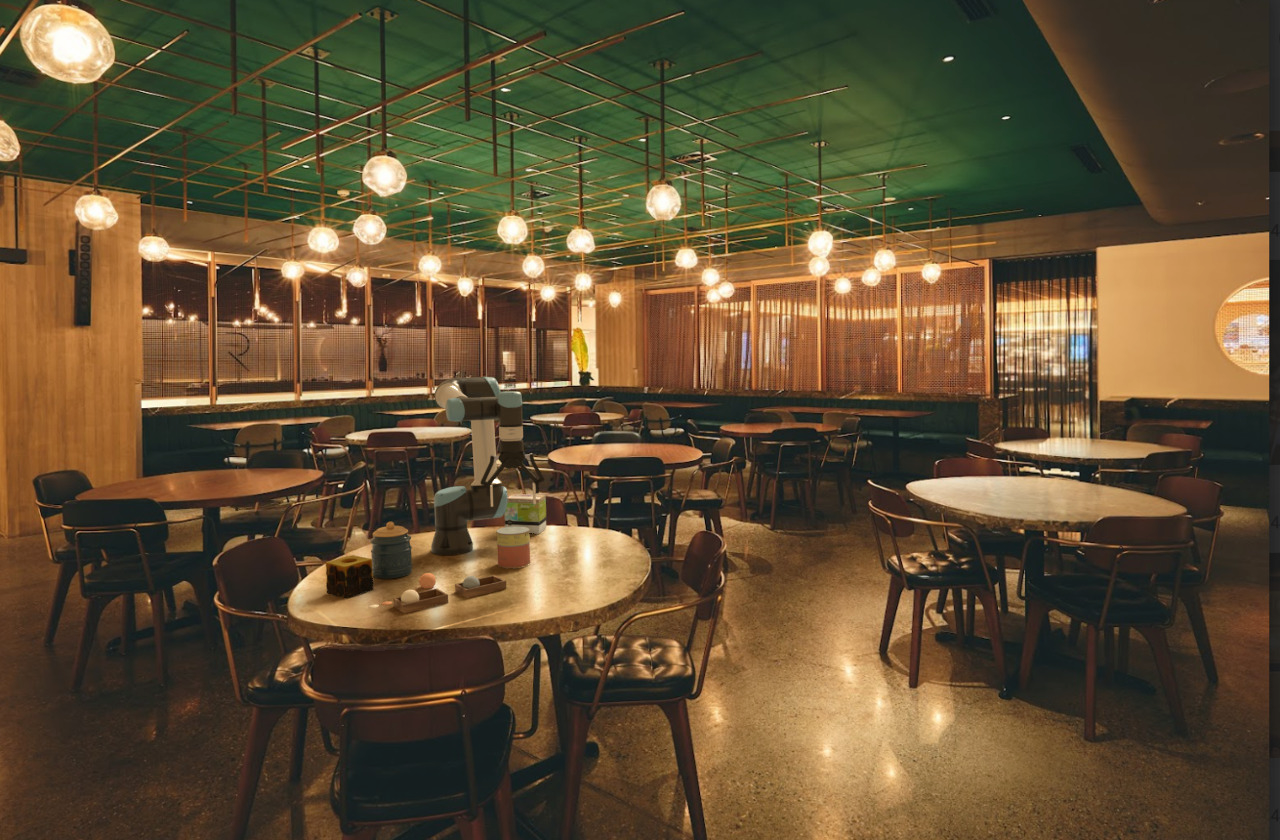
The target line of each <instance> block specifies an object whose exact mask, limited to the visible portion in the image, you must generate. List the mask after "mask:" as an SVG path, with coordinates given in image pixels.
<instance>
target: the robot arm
mask: <svg viewBox="0 0 1280 840" xmlns="http://www.w3.org/2000/svg"><path fill="white" fill-rule="evenodd" d="M522 396H523V395H522V393H521V392H520V391H515V390H514V391H512V390H511V391H501V389H500V386H499V383H498V381H497V379H496V378H495V377H492V376H490V377H489V376H474V377H473V376H472V377H469V376H468V377H453V378H448V379H446V380H445V381H442V382H440V383H439V385H437V387H436V389H435V391H434V399H435V400H434V401H435V402H436V403H437V405H438V406H439V407H440V408H443V409H445V415H446V416H445V417H446V420H447V421H449V422H458V423H459V422H468V421H470V423H471V424H470V425H471V427H470V428H471V443H472V456H473V457H472V459H473V461H472V462H473V475H474V480H473V482H472V483H471V484H470V489H467V488H466V486H464V485H463V486H462V485H459V486H450V487H446V488H443V489H440V490H438V491H437V492H435V494H434V498H433V499H434V500H433V501H434V502H433V507H434V526H435V527H434V529H435V532H434V536H433V539H432V541H431V545H430V548H431V549H430V550H431V553H432V554H434V555H436V556H437V555H439V556H453V555H454V556H455V555H461V554H465V553H466V554H467V553H468V552H470V551H472V550H473V549H474V542H473V540H472V537H471V535H470V531H469V529H468V522H471V521H480V520H481V521H482V520H493V519H496V518H497V519H498V518H501V517H503V516H505V511H506V507H507V497H508V489H507V487H505V486H503V484H502V483H503V482H502V480H500V479H499V478H498V476H499V475H500V474H501V473H502V472H503V470H504V469H507V470H510V469H519V468H521V469H522V470H523V472H525V473H526V475H527V476H528V477H529V478H530V479H531V480H532V495H533V504H536V495H537V494H539V493H540V483H542V482H544V481H545V478H544V476H543V474H542V473H541V470H540V469H539V466H538V465H537V463H536V461H535V459H534V458H535V457H534V454H533V453H532V452H531V453H529V454H525V452H524V440H523V438H524V429H523V427H524V426H523V425H524V424H523V398H522ZM495 420H498V434H499V435H498V437H499V455H497V452H496V451H497V450H496V449H497V447H496V436H495V435H496V434H495V433H496V432H495ZM526 459H527V461H529V462H530V464H531V465H532V467H533V468H534V469H533V470H534V472H535V473H536V474H537V476H538V478H537V477H536V476H535V475H534V473H533V472H531V470H530V469H529V468H527V466H526V465H525V464H524V463H523V462H524V461H525V460H526ZM498 460H499V462H500V465H499V466H497V461H498Z"/></svg>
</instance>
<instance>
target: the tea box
mask: <svg viewBox="0 0 1280 840" xmlns="http://www.w3.org/2000/svg"><path fill="white" fill-rule="evenodd" d="M546 500H547V496H546V494H536V504H533V494H523V493H522V494H519V493H511V494H510V495H509V496H508V495H507V507H506V511H505V514H504V527H511V526H523V527H528V528H529V529H530V530H529V533H532V534H531V535H540V534H541V533H543V532H544V531H545V530H546V528H547V504H546V503H547V501H546ZM543 530H544V531H543ZM533 533H534V534H533ZM539 533H540V534H539Z"/></svg>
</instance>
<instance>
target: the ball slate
mask: <svg viewBox="0 0 1280 840" xmlns="http://www.w3.org/2000/svg"><path fill="white" fill-rule="evenodd" d="M478 579H479V578H477V576H474V575H469V576H466V577H465V578H464V579H463V580H462V581H463V587H464V588H466V589H471V588H475V587H479V585H480V583H479V580H478Z"/></svg>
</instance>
